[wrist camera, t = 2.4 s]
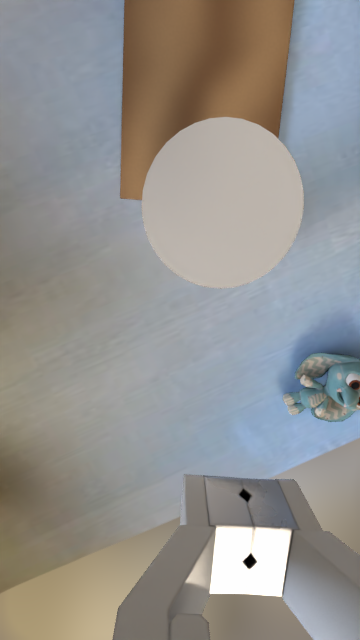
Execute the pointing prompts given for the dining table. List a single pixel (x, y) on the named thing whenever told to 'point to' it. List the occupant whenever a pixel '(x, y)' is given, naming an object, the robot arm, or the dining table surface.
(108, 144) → the dining table surface
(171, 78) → the brown flat board
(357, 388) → the stuffed animal
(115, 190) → the dining table surface
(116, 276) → the dining table surface
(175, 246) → the cylindrical container
